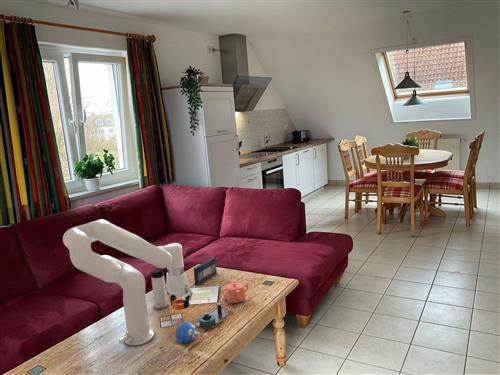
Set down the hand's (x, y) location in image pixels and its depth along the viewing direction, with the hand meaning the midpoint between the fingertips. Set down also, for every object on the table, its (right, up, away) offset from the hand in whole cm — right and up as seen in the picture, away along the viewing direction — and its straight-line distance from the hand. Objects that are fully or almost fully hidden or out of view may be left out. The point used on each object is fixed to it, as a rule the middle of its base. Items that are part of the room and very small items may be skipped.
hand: (180, 305), depth 197 cm
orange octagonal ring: (0, 0, 0) cm, 0 cm away
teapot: (+26, -3, +19) cm, 32 cm away
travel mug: (-13, -6, +18) cm, 23 cm away
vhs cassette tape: (+7, +1, +50) cm, 51 cm away
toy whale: (+7, -11, -17) cm, 21 cm away
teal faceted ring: (+13, -7, -3) cm, 15 cm away
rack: (+16, -7, +1) cm, 17 cm away
